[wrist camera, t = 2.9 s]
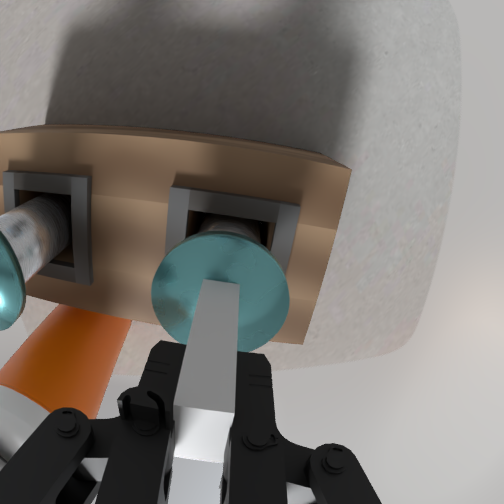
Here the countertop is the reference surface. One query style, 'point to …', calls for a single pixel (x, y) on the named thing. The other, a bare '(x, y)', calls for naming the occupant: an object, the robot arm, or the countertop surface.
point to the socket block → (169, 208)
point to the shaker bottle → (58, 371)
